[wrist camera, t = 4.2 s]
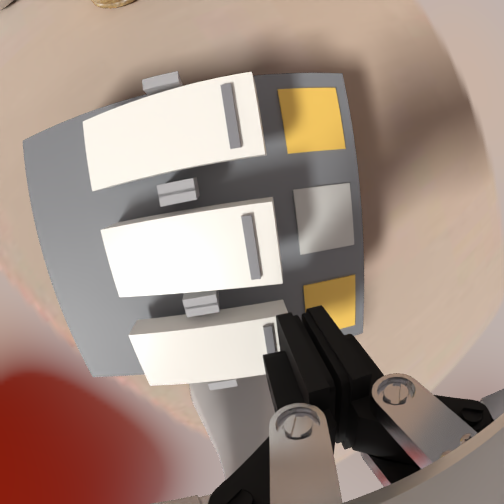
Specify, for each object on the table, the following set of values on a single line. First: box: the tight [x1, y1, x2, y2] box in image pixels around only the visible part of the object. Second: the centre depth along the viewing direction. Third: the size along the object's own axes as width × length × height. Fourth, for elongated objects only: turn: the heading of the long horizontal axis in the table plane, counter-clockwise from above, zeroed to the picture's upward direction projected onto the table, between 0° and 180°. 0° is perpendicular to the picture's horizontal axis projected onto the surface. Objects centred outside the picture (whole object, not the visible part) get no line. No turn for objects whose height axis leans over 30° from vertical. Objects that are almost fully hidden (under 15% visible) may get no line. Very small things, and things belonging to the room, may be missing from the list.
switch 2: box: [101, 197, 283, 297], centre depth 10 cm, size 3×6×1 cm, turn 99°
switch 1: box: [83, 72, 267, 191], centre depth 8 cm, size 3×6×1 cm, turn 99°
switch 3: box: [129, 300, 288, 386], centre depth 11 cm, size 3×6×1 cm, turn 99°
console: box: [23, 71, 364, 390], centre depth 12 cm, size 12×14×7 cm
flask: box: [189, 374, 275, 480], centre depth 14 cm, size 7×7×10 cm
